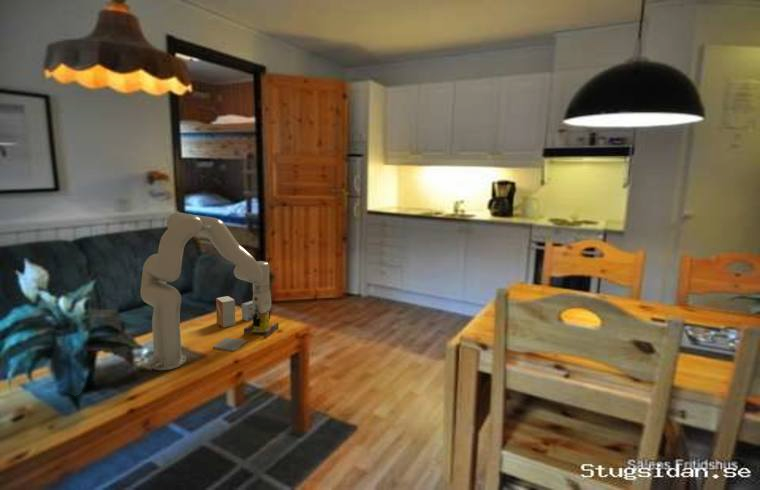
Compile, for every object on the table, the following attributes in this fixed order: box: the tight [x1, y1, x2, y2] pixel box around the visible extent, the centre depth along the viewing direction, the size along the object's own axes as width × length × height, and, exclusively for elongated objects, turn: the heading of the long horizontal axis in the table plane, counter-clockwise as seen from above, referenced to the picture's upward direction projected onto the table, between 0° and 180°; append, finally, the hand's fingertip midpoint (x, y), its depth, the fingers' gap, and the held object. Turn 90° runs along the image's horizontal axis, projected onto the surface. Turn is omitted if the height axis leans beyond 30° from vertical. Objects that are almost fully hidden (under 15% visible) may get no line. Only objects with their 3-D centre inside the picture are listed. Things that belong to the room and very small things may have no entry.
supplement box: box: [253, 310, 270, 335], centre depth 196 cm, size 6×6×11 cm
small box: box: [215, 295, 236, 329], centre depth 203 cm, size 8×6×13 cm
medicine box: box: [241, 299, 253, 322], centre depth 213 cm, size 8×4×9 cm, turn 150°
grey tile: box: [212, 337, 248, 352], centre depth 181 cm, size 10×10×1 cm
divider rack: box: [243, 322, 279, 339], centre depth 197 cm, size 12×11×3 cm
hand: (261, 322), depth 196 cm, fingers open, 9 cm apart
